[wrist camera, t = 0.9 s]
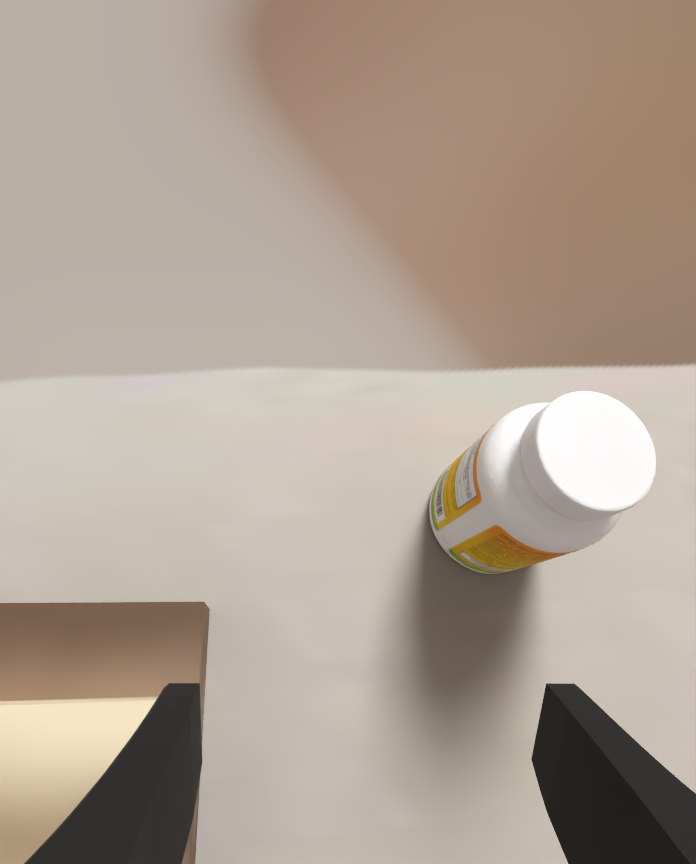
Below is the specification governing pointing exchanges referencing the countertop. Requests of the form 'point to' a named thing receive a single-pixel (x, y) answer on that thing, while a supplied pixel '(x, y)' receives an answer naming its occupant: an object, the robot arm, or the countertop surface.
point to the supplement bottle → (542, 483)
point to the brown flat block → (103, 654)
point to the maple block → (55, 762)
